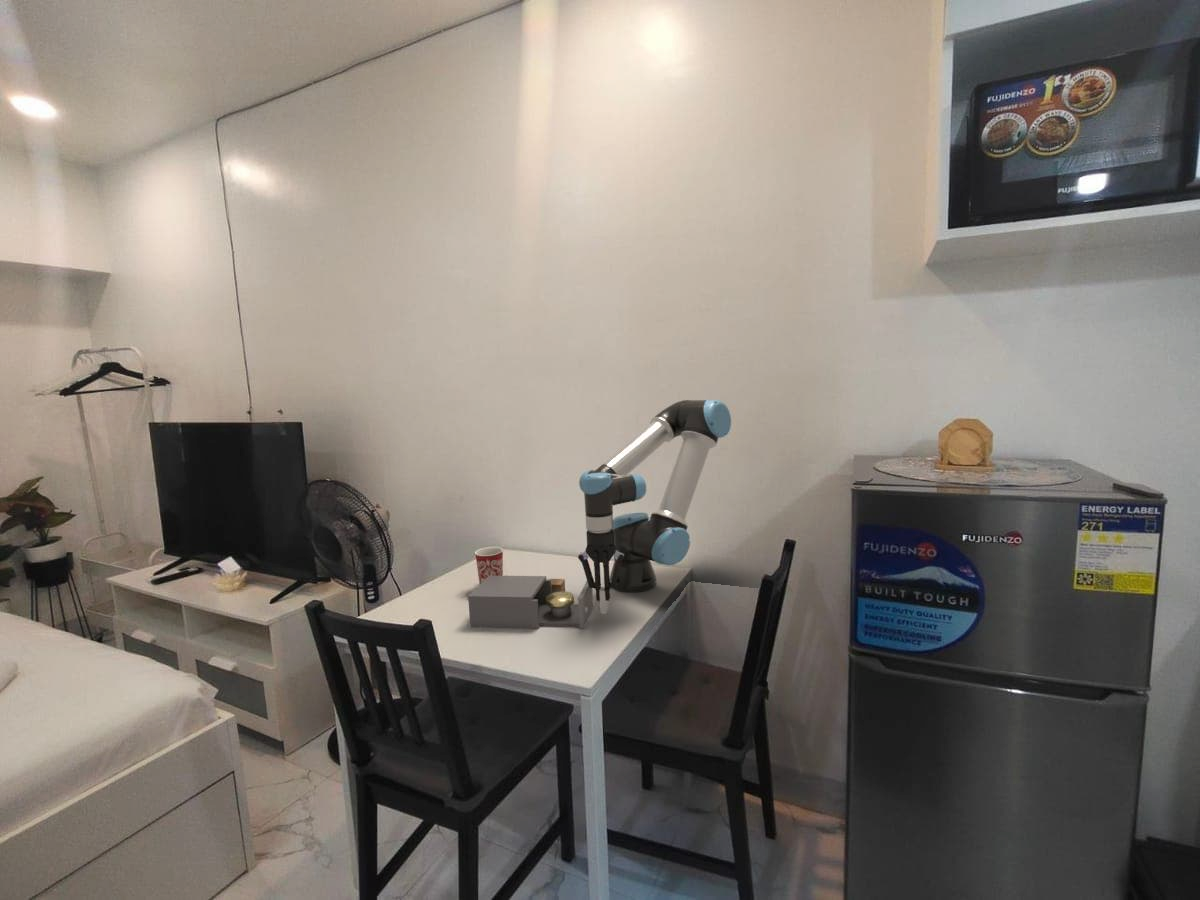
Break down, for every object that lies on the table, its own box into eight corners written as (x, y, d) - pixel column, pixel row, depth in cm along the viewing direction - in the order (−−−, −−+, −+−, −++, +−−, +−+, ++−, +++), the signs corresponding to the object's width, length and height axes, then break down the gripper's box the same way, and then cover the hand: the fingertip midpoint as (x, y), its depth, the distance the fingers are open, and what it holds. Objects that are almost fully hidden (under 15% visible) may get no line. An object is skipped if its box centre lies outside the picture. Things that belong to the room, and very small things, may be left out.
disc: (548, 597, 156) (548, 591, 156) (576, 596, 155) (575, 591, 155) (543, 608, 148) (543, 603, 148) (572, 608, 147) (572, 602, 147)
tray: (595, 605, 158) (594, 578, 157) (586, 628, 143) (584, 598, 142) (529, 604, 161) (527, 577, 160) (513, 626, 146) (511, 597, 145)
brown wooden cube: (565, 594, 168) (564, 578, 168) (561, 600, 164) (561, 584, 163) (550, 593, 169) (549, 578, 169) (546, 600, 164) (545, 584, 164)
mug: (505, 594, 170) (502, 553, 169) (476, 597, 169) (473, 556, 168) (507, 580, 183) (504, 542, 181) (480, 583, 182) (477, 544, 180)
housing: (552, 604, 160) (551, 576, 159) (538, 629, 145) (536, 597, 144) (491, 603, 164) (488, 575, 163) (470, 627, 148) (468, 596, 147)
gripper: (624, 525, 150) (628, 606, 152) (579, 525, 152) (583, 605, 154) (621, 533, 142) (625, 617, 145) (573, 533, 144) (578, 616, 147)
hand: (603, 611), depth 150 cm, fingers closed
